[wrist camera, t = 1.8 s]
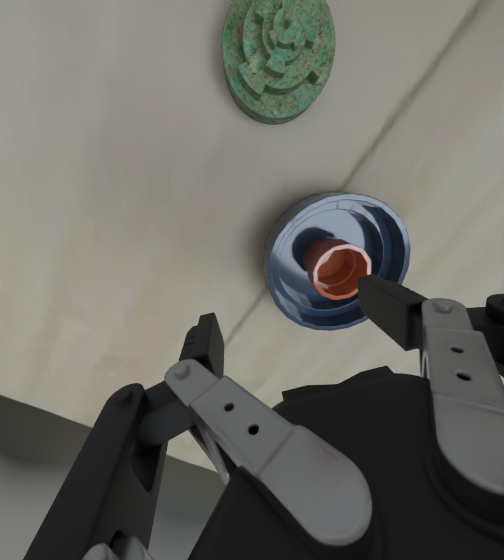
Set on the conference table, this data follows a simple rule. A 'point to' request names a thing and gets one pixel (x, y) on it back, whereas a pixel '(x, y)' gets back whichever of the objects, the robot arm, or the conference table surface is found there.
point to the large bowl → (340, 225)
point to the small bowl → (336, 267)
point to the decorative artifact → (277, 56)
